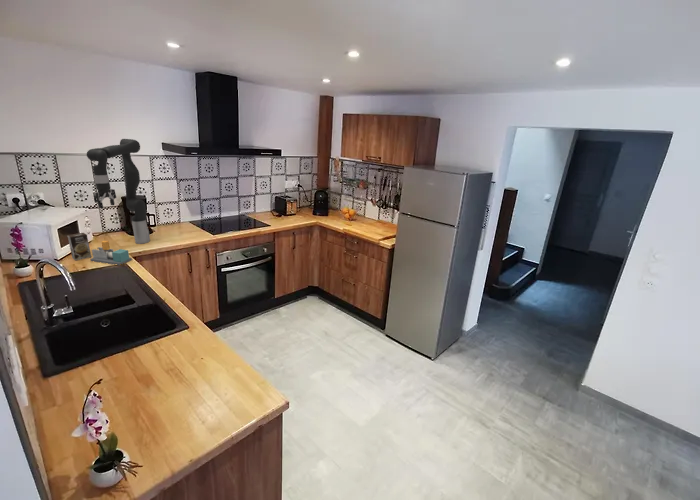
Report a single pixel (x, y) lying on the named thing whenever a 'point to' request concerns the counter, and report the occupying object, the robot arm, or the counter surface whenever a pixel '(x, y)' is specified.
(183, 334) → the counter surface
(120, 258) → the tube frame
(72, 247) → the coffee box
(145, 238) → the robot arm
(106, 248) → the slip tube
